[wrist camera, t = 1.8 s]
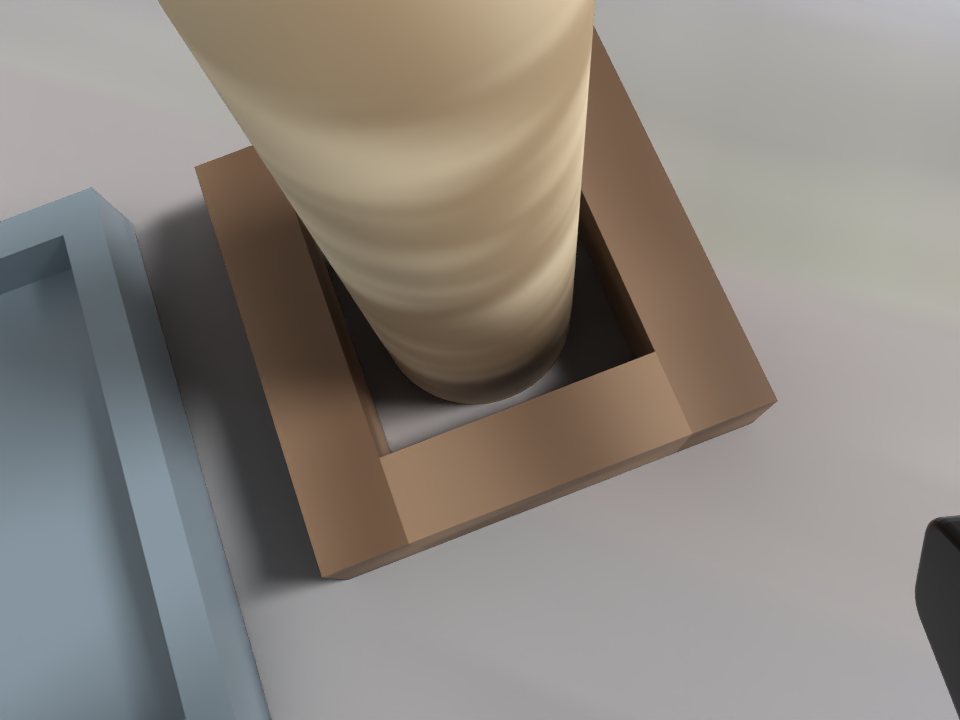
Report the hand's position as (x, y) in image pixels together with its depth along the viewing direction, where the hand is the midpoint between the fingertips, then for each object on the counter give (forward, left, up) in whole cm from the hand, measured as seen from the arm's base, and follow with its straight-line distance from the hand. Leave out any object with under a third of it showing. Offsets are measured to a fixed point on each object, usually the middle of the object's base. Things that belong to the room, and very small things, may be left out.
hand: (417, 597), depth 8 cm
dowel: (+2, +7, -13) cm, 15 cm away
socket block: (+2, +7, -13) cm, 15 cm away
